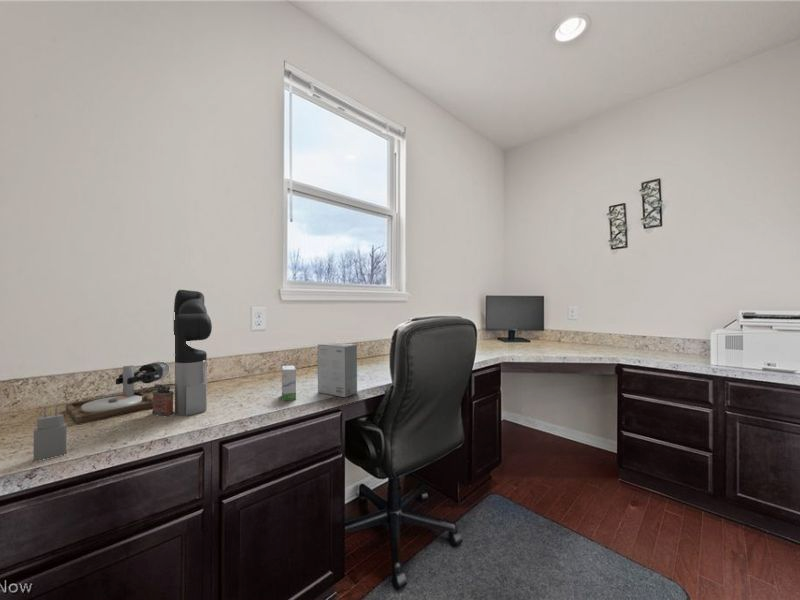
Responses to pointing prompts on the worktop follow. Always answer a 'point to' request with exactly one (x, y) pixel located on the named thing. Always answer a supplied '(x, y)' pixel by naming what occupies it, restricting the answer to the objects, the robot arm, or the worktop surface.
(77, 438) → the worktop surface
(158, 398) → the lighter
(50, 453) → the power adapter
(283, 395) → the ink box
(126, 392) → the cylinder on round base
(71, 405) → the wooden tray
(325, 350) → the hard drive box
